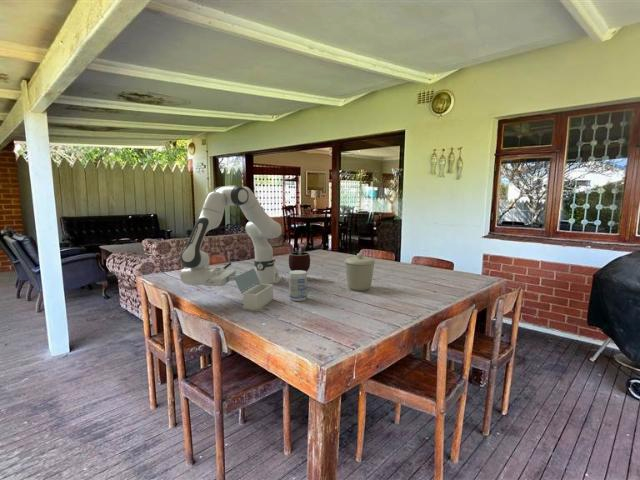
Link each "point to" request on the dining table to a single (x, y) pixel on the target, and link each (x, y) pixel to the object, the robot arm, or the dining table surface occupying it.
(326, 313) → the dining table surface
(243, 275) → the cover
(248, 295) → the beige open box
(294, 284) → the supplement tub
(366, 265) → the canister
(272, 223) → the robot arm
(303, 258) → the brown utensil pot
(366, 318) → the dining table surface
